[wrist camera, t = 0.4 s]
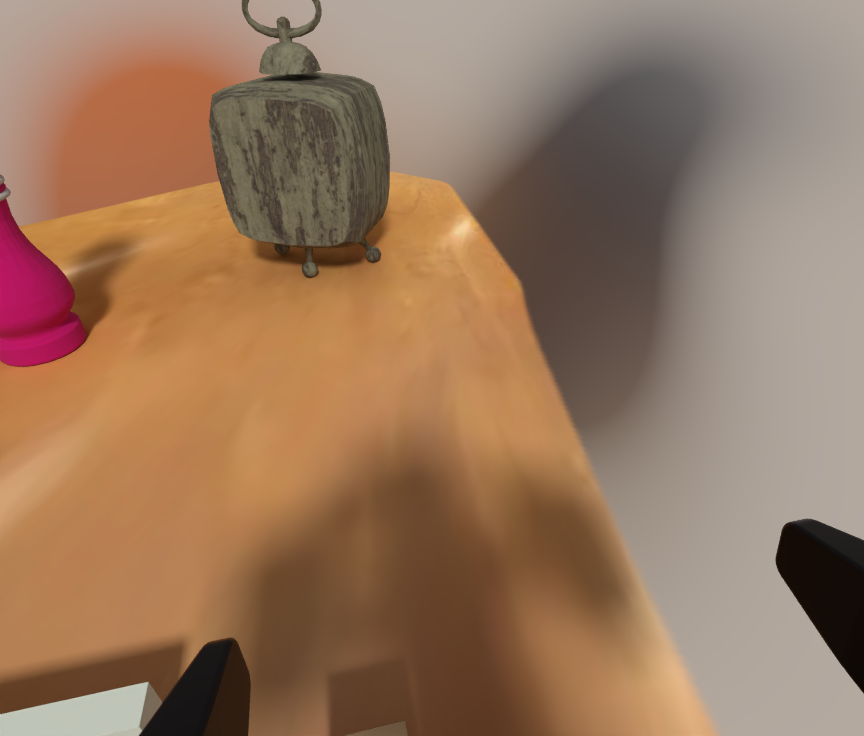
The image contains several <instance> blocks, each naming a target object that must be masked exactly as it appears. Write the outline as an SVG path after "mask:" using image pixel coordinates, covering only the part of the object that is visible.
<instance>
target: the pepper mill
mask: <svg viewBox="0 0 864 736" xmlns="http://www.w3.org/2000/svg"><path fill="white" fill-rule="evenodd" d="M9 195H10V190H9V189H8V188H7V187H6V185H5V184H4V177H3V176H2V175H0V360H1V361H2V362H3V363H5V364H7V365H10V366H22V367H23V366H33V365H38V364H42V363H47V362H50V361H53V360H56V359H59V358H61V357H63V356H65V355H67V354H69V353H71V352H73V351H74V350H75V349H77V348H78V347H79V346H80V345H81V344H82V343H83V342H84V340H85V337H86V332H85V330H84V328H83V325H82V323H81V321H80V319H79V317H78V316H77V315H76V314H75V313H73V312H70V309H71V307H72V305H73V302H74V298H75V294H74V290H73V288H72V286H71V284H70V282H69V281H68V279H67V277H66V276H65V274H64V273H63V272H62V271H61V270H60V269H59V268H58V266H57V265H55V264H54V263H53V262H52V261H51V260H50V259H49V258H48V257H46V256H45V255H44V254H43V253H42V252H41V251H39V250H38V249H37V248H36V247H35V246H34V245H33V244H32V243H31V242H30V241H29V240H28V239H27V238H26V236H25V235H24V234H23V233H22V231H21V230H20V229H19V227H18V225H17V223H16V222H15V220H14V218H13V216H12V214H11V212H10V208H9V206H8V203H7V200H6V198H7V197H8V196H9Z"/></svg>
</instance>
